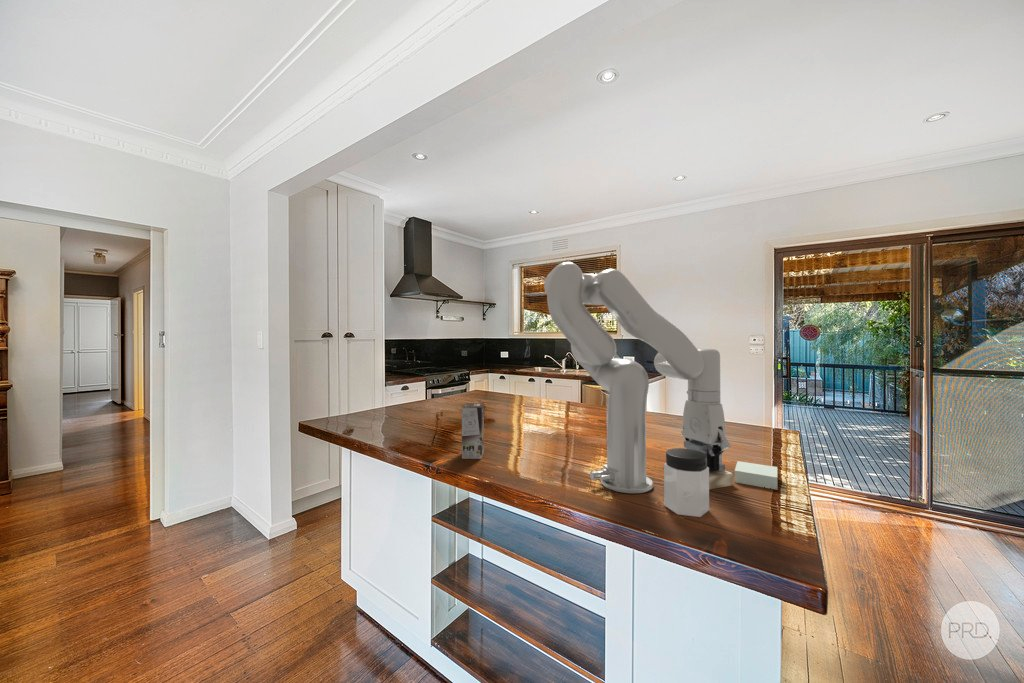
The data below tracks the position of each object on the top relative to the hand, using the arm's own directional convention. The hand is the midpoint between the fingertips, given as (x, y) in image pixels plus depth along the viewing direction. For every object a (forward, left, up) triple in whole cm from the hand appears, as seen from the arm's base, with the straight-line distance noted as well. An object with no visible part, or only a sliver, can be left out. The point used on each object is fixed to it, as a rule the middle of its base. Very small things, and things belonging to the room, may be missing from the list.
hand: (704, 466), depth 99 cm
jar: (-16, -11, -4) cm, 20 cm away
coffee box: (-51, +43, -4) cm, 67 cm away
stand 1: (0, 0, -4) cm, 4 cm away
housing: (0, 0, -1) cm, 1 cm away
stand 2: (+13, -4, -4) cm, 14 cm away
